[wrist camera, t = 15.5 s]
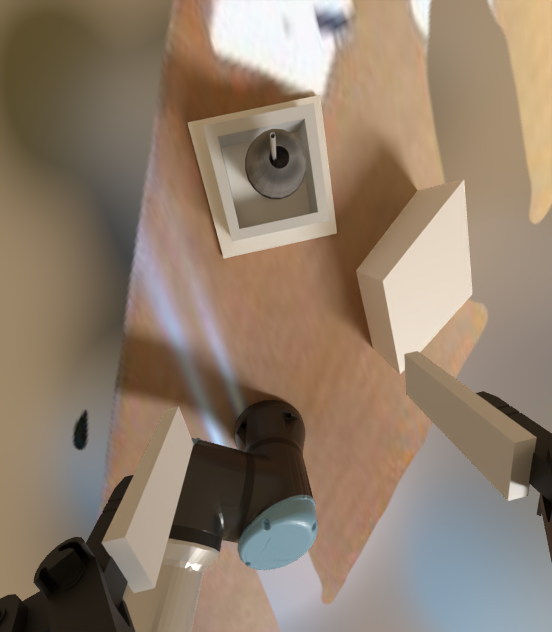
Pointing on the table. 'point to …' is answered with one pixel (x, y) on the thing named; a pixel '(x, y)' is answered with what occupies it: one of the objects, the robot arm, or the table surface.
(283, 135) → the beverage cup
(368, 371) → the table surface
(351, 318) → the table surface
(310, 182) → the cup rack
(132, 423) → the table surface
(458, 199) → the block
